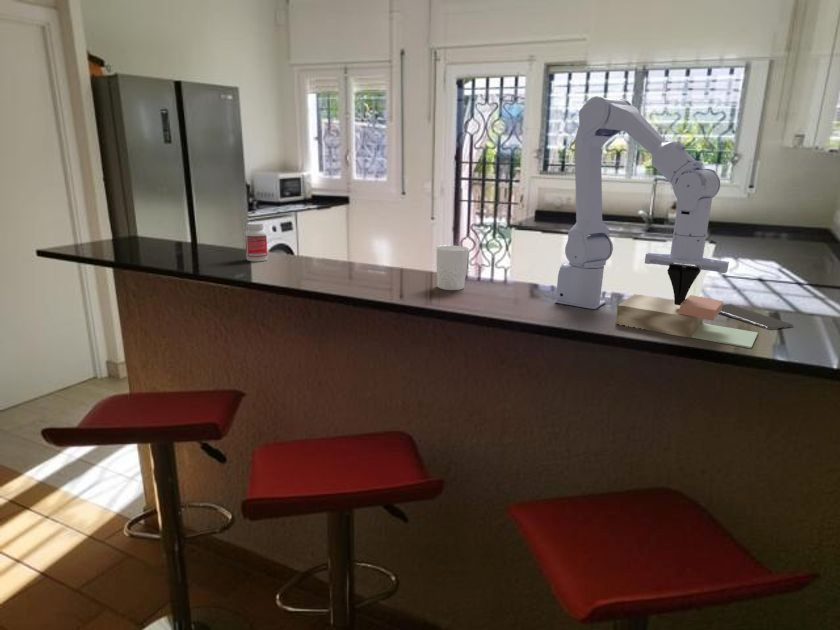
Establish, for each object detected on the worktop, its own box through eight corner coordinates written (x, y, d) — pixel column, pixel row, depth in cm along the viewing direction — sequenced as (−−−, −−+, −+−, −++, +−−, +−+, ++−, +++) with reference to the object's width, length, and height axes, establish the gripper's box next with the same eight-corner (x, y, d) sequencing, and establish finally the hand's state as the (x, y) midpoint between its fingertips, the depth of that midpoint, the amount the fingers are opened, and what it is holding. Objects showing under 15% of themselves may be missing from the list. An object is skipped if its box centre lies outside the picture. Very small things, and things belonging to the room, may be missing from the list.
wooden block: (615, 324, 115) (617, 305, 114) (632, 312, 124) (634, 294, 123) (690, 338, 107) (693, 317, 106) (702, 323, 117) (705, 305, 116)
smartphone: (769, 327, 114) (705, 306, 128) (768, 332, 114) (704, 310, 128) (795, 324, 116) (730, 303, 131) (794, 329, 117) (729, 308, 131)
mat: (690, 337, 108) (691, 335, 108) (701, 324, 116) (702, 323, 116) (751, 348, 102) (751, 346, 102) (757, 334, 111) (758, 332, 111)
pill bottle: (271, 260, 172) (269, 223, 169) (253, 262, 168) (250, 225, 165) (261, 257, 176) (259, 221, 173) (242, 259, 172) (240, 222, 169)
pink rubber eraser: (678, 313, 108) (680, 303, 107) (688, 304, 115) (690, 294, 115) (713, 320, 105) (715, 310, 104) (721, 311, 112) (723, 301, 111)
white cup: (428, 287, 143) (429, 247, 140) (448, 282, 149) (450, 244, 146) (452, 292, 138) (454, 251, 135) (472, 287, 143) (474, 248, 141)
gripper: (644, 233, 109) (635, 301, 113) (729, 240, 101) (716, 314, 105) (653, 229, 115) (645, 295, 118) (734, 236, 107) (722, 307, 110)
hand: (679, 304), depth 112 cm, fingers closed
